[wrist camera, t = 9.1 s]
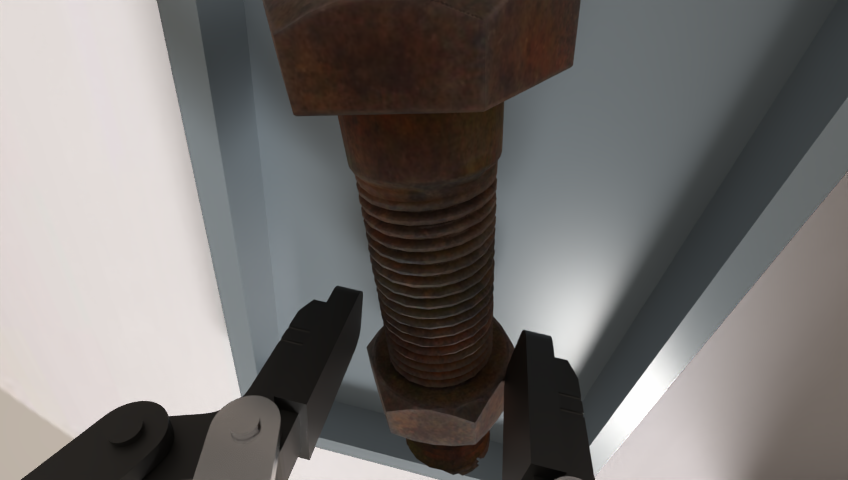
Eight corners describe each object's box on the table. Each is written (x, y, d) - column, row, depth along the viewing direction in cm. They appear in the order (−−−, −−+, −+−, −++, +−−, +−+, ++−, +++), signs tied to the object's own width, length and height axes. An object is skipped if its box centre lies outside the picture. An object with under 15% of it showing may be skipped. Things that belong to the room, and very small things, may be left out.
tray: (975, -179, 8) (1194, -250, 5) (559, 451, 21) (565, 512, 19) (197, -284, 9) (75, -383, 6) (276, 379, 22) (248, 429, 20)
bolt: (443, 358, 19) (413, -24, 10) (543, 420, 16) (617, -40, 7) (349, 458, 15) (183, 4, 7) (455, 561, 12) (403, -5, 4)
